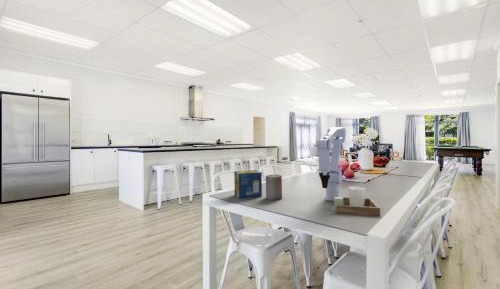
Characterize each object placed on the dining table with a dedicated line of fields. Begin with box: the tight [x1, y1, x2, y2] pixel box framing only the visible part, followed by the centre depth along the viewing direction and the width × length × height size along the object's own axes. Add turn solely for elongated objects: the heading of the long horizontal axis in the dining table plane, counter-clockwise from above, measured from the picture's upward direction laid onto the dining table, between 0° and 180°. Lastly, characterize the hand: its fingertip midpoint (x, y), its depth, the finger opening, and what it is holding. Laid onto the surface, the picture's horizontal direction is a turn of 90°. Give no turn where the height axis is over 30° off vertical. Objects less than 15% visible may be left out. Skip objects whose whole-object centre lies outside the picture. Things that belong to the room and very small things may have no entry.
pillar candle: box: [265, 174, 283, 201], centre depth 151 cm, size 10×10×15 cm
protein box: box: [233, 169, 263, 199], centre depth 158 cm, size 10×15×16 cm
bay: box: [335, 196, 381, 216], centre depth 126 cm, size 19×19×4 cm
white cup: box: [348, 186, 366, 207], centre depth 129 cm, size 8×8×10 cm
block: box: [333, 196, 344, 212], centre depth 125 cm, size 4×4×6 cm
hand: (324, 186), depth 134 cm, fingers open, 7 cm apart
